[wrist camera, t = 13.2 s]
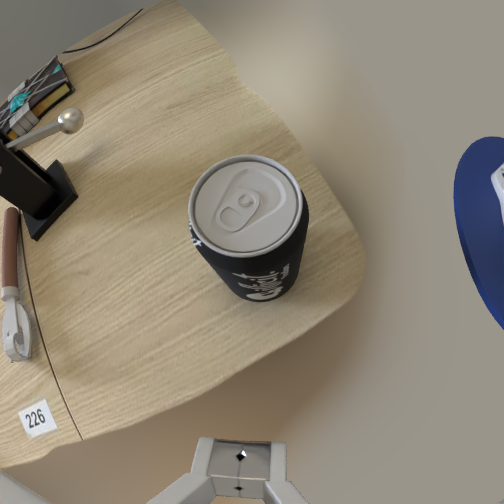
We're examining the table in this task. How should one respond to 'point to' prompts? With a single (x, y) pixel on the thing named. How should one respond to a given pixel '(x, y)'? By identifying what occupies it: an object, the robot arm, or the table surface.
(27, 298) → the table surface
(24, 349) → the pizza cutter
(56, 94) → the book
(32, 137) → the lever
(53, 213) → the black lever stand
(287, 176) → the beverage can
